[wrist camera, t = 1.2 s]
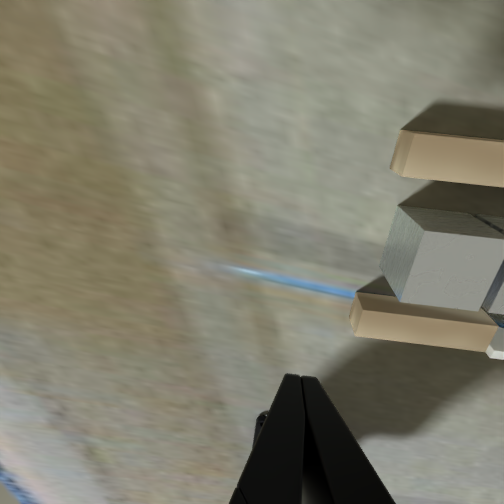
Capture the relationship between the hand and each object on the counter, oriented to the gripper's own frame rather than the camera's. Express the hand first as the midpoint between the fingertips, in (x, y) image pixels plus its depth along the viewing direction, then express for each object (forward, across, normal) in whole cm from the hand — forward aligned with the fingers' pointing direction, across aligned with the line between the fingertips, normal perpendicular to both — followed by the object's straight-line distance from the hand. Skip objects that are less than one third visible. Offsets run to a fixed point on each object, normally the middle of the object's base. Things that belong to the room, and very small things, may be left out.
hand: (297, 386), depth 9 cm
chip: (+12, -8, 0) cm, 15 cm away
